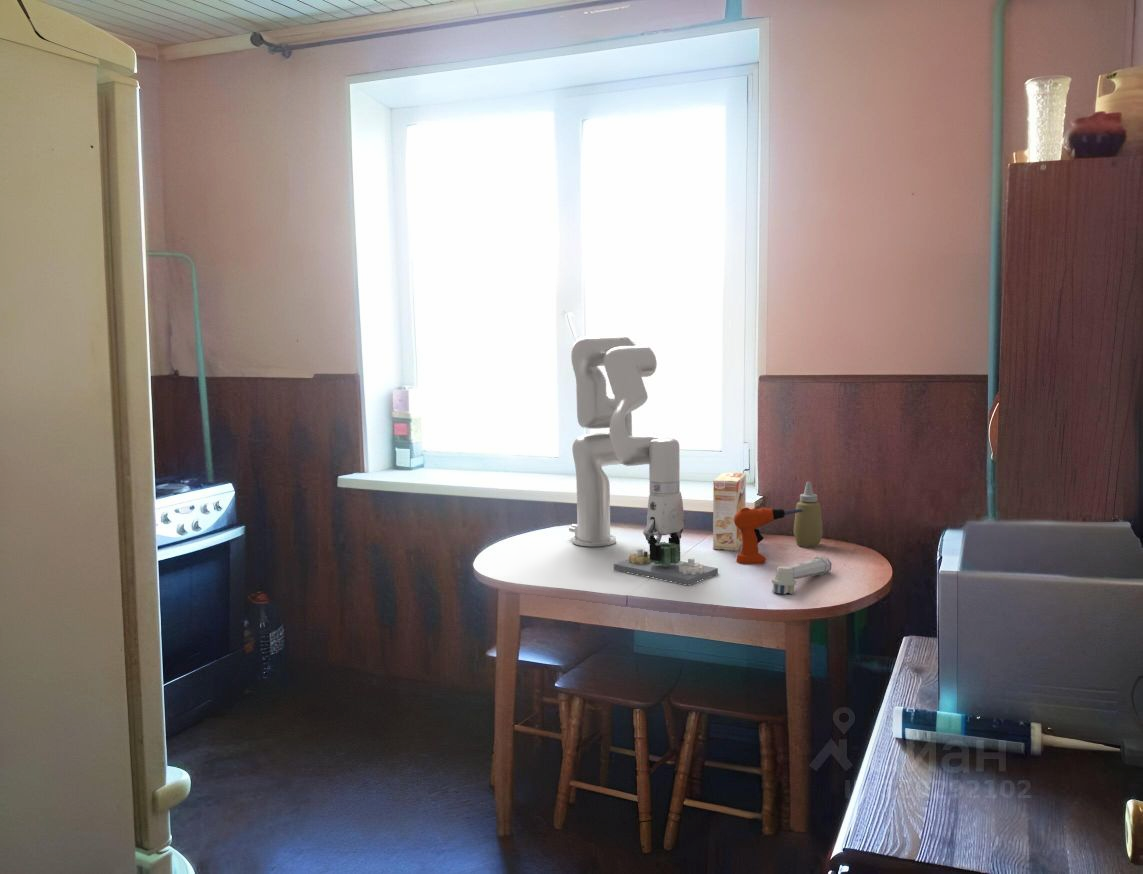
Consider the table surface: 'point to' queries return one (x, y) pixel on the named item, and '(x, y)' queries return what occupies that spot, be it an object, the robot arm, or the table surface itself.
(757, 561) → the toy drill
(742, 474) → the coffeecake box
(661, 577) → the gear board
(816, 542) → the squeeze bottle
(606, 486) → the robot arm
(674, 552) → the idler gear
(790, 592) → the toothbrush head
